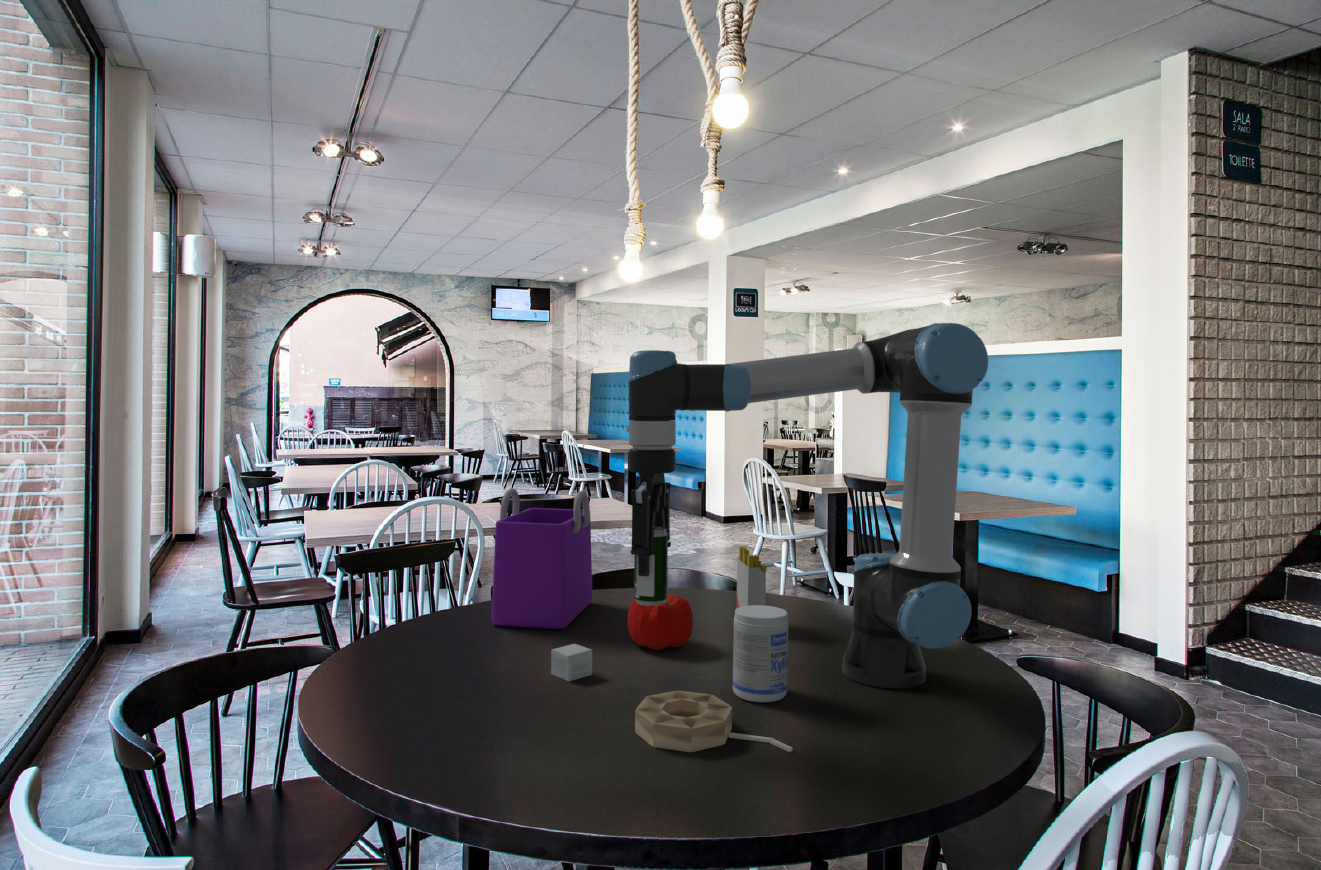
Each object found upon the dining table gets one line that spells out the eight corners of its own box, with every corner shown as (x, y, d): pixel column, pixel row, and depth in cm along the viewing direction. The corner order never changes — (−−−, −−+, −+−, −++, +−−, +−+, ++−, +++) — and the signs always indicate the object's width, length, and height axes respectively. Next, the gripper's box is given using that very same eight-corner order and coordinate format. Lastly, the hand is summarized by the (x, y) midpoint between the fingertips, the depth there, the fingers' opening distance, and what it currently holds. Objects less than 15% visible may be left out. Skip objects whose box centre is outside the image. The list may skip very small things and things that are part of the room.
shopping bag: (587, 631, 173) (588, 496, 171) (488, 631, 172) (489, 495, 171) (593, 599, 201) (594, 484, 200) (508, 599, 200) (508, 483, 199)
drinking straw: (794, 743, 116) (794, 740, 116) (792, 752, 113) (792, 749, 113) (729, 735, 119) (729, 732, 119) (725, 743, 116) (725, 740, 116)
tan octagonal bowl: (736, 718, 125) (736, 697, 125) (719, 756, 112) (719, 732, 112) (652, 708, 129) (653, 687, 129) (626, 743, 115) (626, 720, 115)
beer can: (645, 607, 122) (645, 531, 121) (628, 600, 126) (628, 527, 126) (673, 603, 125) (674, 529, 124) (656, 596, 129) (656, 524, 129)
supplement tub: (782, 707, 130) (784, 620, 130) (726, 700, 133) (728, 615, 132) (790, 688, 139) (792, 606, 139) (738, 681, 142) (740, 602, 142)
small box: (574, 667, 149) (574, 642, 148) (593, 675, 145) (593, 649, 144) (549, 674, 145) (550, 648, 144) (568, 682, 141) (569, 656, 140)
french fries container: (754, 620, 183) (756, 544, 183) (767, 633, 173) (768, 553, 172) (736, 620, 183) (737, 544, 182) (746, 633, 172) (748, 553, 171)
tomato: (617, 650, 159) (618, 599, 159) (642, 633, 172) (643, 586, 171) (679, 659, 154) (680, 607, 154) (701, 641, 166) (702, 592, 166)
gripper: (647, 444, 134) (646, 577, 135) (609, 450, 117) (609, 603, 118) (689, 445, 132) (688, 580, 133) (657, 451, 115) (656, 607, 115)
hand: (651, 590), depth 125 cm, fingers closed on beer can, 5 cm apart
